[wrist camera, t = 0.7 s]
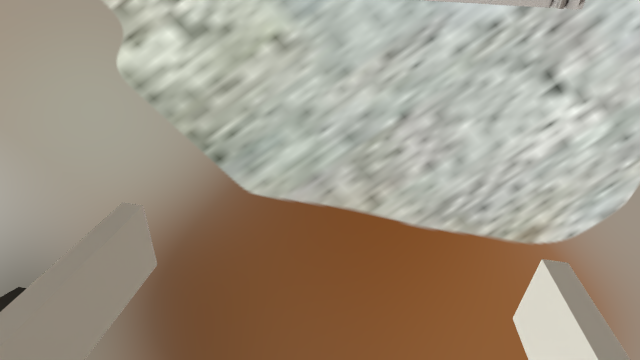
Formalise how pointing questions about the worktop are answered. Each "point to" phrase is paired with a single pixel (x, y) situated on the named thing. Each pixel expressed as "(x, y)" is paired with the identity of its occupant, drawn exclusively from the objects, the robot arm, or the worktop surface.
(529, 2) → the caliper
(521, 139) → the worktop surface
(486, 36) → the worktop surface
